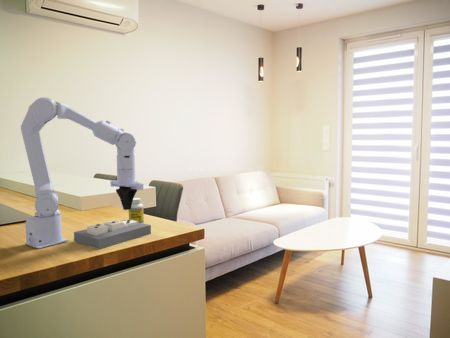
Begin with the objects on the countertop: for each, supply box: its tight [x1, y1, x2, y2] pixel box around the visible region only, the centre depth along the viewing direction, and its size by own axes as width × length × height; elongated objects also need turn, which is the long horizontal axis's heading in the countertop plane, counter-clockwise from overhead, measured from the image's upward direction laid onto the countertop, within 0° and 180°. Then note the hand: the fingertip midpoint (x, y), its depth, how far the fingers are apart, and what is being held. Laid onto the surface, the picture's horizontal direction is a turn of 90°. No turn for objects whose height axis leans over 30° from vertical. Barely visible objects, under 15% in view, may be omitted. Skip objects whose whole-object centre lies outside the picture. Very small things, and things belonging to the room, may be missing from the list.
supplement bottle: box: [128, 197, 145, 224], centre depth 133 cm, size 5×5×10 cm
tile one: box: [103, 219, 124, 231], centre depth 115 cm, size 4×4×3 cm
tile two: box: [86, 223, 108, 236], centre depth 110 cm, size 4×4×3 cm
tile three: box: [121, 219, 138, 227], centre depth 120 cm, size 4×4×3 cm
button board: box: [73, 219, 152, 250], centre depth 116 cm, size 20×13×3 cm, turn 144°
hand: (127, 209), depth 119 cm, fingers closed
